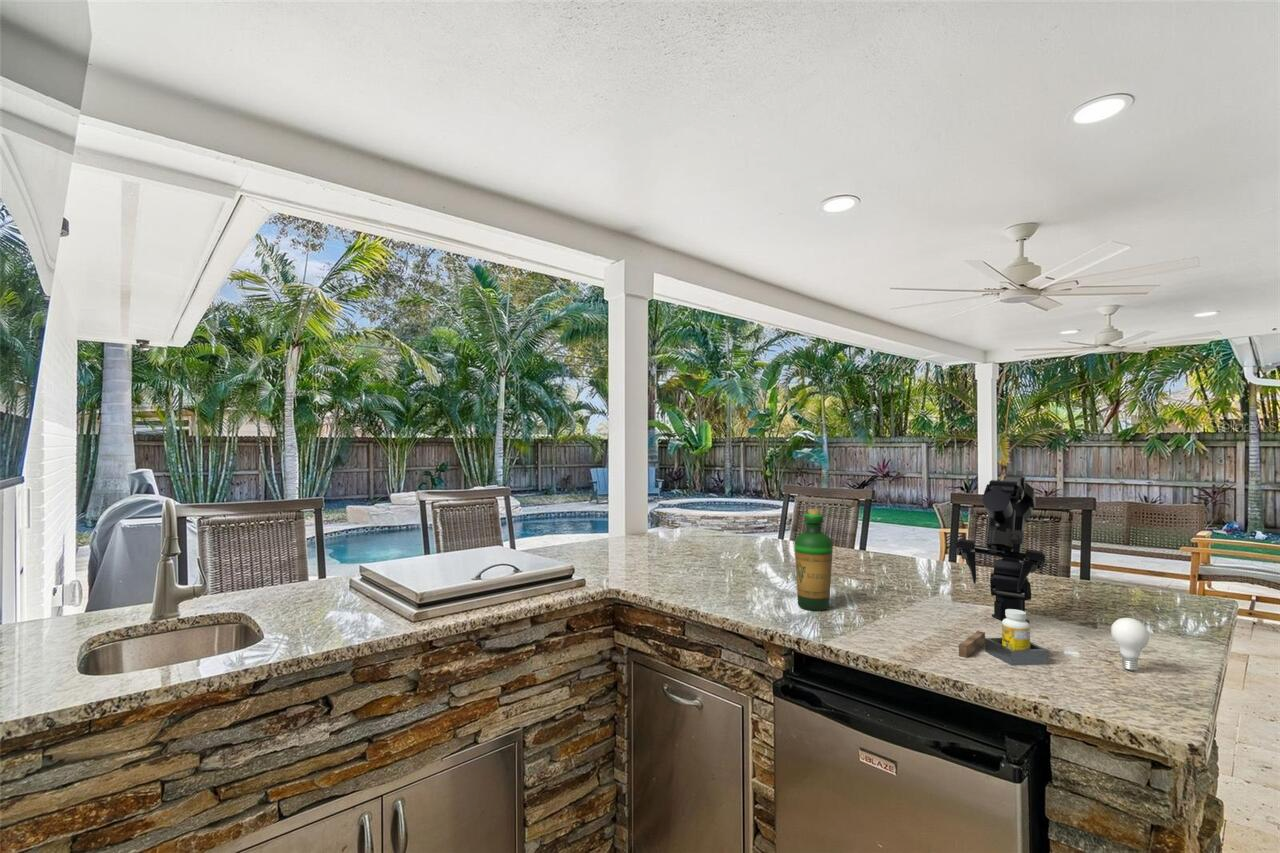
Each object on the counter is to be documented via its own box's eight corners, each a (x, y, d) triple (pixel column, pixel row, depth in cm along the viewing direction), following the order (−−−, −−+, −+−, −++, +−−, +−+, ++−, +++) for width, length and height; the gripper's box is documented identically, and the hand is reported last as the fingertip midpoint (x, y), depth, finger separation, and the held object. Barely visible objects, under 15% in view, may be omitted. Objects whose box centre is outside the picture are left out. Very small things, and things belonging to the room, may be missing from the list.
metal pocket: (1020, 650, 140) (1020, 637, 140) (1048, 664, 132) (1048, 650, 132) (985, 651, 140) (984, 638, 140) (1011, 665, 131) (1011, 651, 131)
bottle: (791, 610, 172) (792, 510, 172) (796, 600, 182) (797, 506, 182) (831, 614, 168) (831, 512, 168) (834, 604, 178) (834, 508, 178)
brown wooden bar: (977, 641, 146) (977, 630, 146) (985, 643, 145) (985, 632, 145) (958, 655, 136) (958, 644, 136) (966, 657, 135) (966, 646, 135)
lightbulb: (1103, 665, 132) (1103, 614, 132) (1130, 664, 132) (1130, 613, 132) (1129, 676, 125) (1129, 623, 125) (1157, 676, 126) (1157, 622, 126)
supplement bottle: (1034, 659, 133) (1034, 615, 133) (1007, 657, 134) (1007, 614, 134) (1024, 651, 138) (1023, 608, 138) (998, 649, 139) (998, 607, 139)
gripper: (960, 509, 152) (953, 570, 146) (1049, 521, 143) (1046, 586, 137) (959, 525, 161) (952, 582, 155) (1043, 537, 152) (1040, 599, 146)
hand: (996, 587), depth 148 cm, fingers open, 9 cm apart
